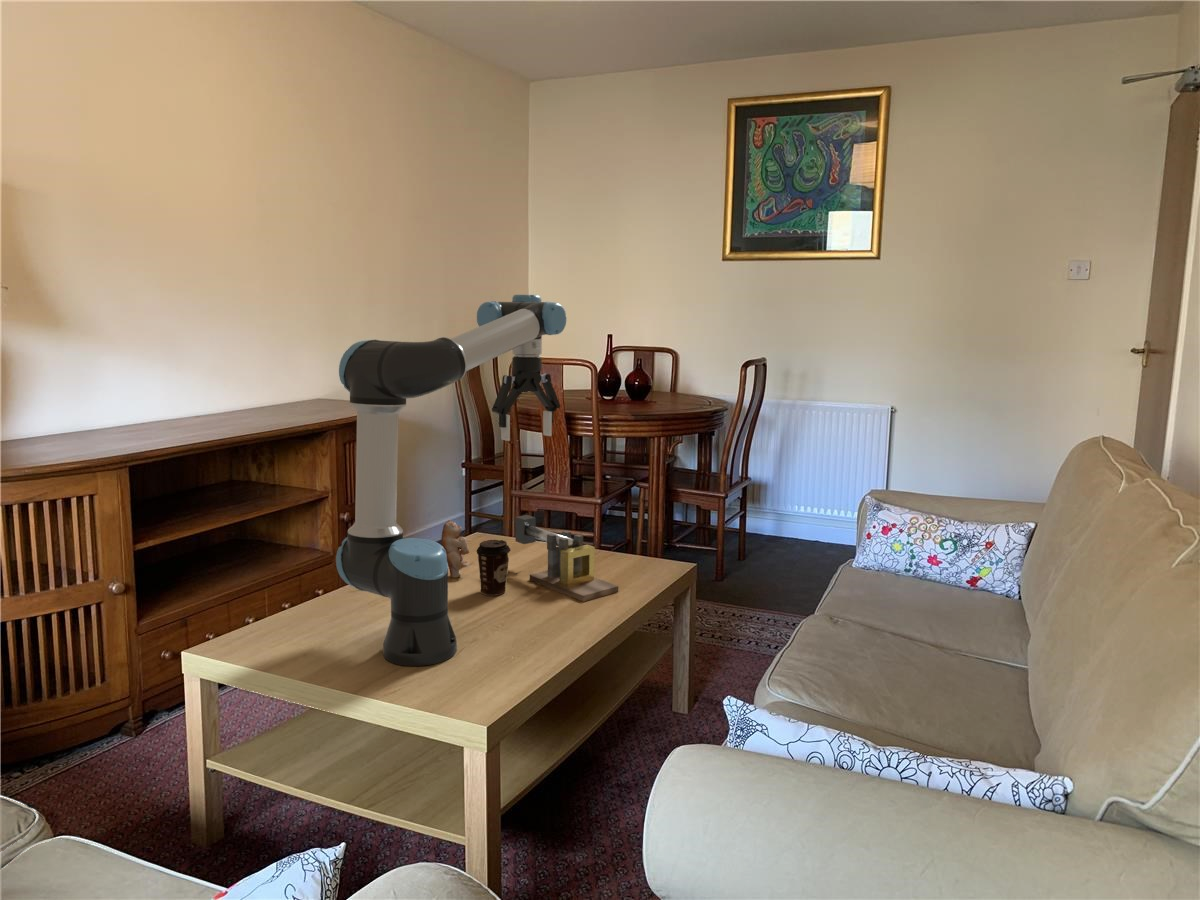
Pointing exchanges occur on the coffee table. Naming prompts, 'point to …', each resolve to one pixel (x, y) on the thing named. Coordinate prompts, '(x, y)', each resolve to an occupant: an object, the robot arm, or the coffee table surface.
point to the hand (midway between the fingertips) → (526, 437)
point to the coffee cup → (493, 566)
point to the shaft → (534, 532)
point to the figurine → (454, 548)
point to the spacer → (587, 565)
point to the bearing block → (578, 591)
